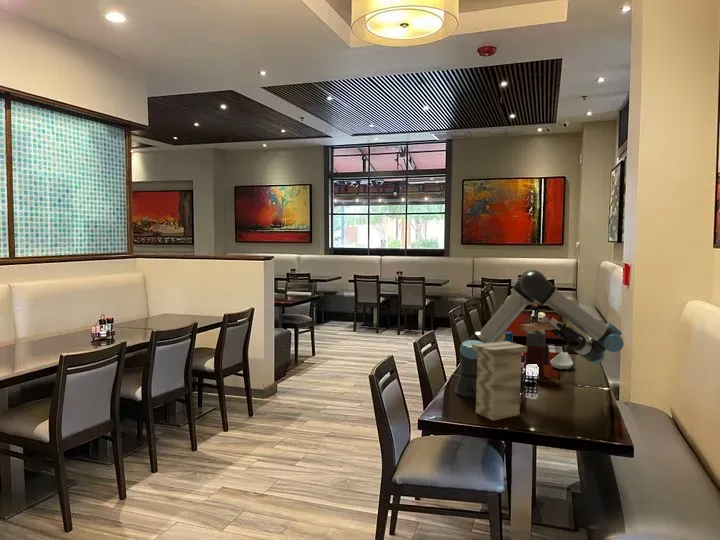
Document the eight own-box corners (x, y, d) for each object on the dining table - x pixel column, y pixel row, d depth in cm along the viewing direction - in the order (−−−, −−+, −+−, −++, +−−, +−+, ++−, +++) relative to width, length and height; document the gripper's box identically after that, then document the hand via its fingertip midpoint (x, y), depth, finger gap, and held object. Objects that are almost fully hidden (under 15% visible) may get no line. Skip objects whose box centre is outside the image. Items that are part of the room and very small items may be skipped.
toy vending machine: (548, 380, 259) (550, 325, 257) (525, 377, 263) (527, 323, 261) (548, 376, 267) (550, 322, 266) (526, 373, 271) (528, 321, 270)
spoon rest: (571, 372, 277) (572, 359, 276) (548, 369, 282) (549, 356, 281) (575, 363, 298) (575, 351, 297) (553, 360, 303) (554, 348, 303)
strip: (520, 330, 213) (520, 324, 213) (557, 326, 224) (557, 321, 223) (527, 331, 210) (527, 325, 210) (564, 328, 220) (565, 322, 220)
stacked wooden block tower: (470, 412, 208) (472, 344, 207) (503, 406, 217) (505, 340, 215) (490, 422, 198) (493, 350, 196) (524, 415, 206) (527, 346, 205)
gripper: (591, 354, 220) (560, 331, 209) (559, 347, 235) (528, 324, 224) (598, 339, 221) (567, 314, 211) (565, 332, 236) (535, 309, 226)
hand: (547, 319), depth 218 cm, fingers closed on strip, 4 cm apart
